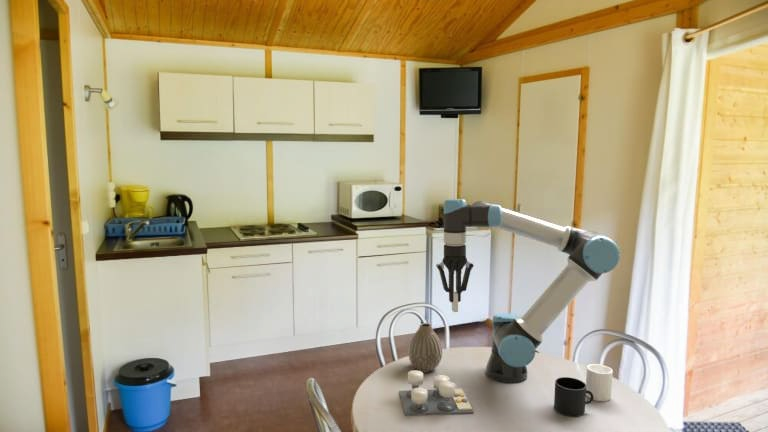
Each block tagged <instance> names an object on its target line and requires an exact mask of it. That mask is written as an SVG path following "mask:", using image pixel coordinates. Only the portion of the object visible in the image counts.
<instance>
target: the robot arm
mask: <svg viewBox="0 0 768 432" xmlns="http://www.w3.org/2000/svg"><path fill="white" fill-rule="evenodd" d="M467 227H468V228H470V227H473V228H475V227H476V228H480V227H481V228H483V227H484V228H496V229H500V230H503V231H506V232H509V233H512V234H515V235H518V236H521V237H524V238H527V239H530V240H534V241H536V242H540V243H543V244H545V245H546V244H547V245H549V246H553V247H555V248H557V250H558V251H559V252H562V253H564V254H567V255H569V256H568V257H567V258H566V259H567V265H566V266H565V267H564V269H562V271H561V272H560V273H559V274H558V275H557V277H556V278H555V279H554V280H553V281H552V282H551V283H550V285H549V286H547V288H546V289H545V290H544V292H543V293H541V295H540V296H539V297H538V299H537V300H536V301H535V302H534V303H533V304H532V305H531V307H530V308H529V309H527V311H526V312H525V313H524V315H521V314H516V313H497V314H496V313H495V314H494V315H493V317H492V321H491V324H492V327H491V328H492V331H491V332H492V333H491V354H490V356H489V359H488V361H487V362H486V363H487V364H486V366H485V370H486V371H485V372H486V373H485V374H486V375H487V376H488V377H489V378H490V379H492V380H495V381H498V382H502V383H508V384H509V383H511V384H514V383H521V382H523V381H525V380H527V378H528V368H527V366H528V365H529V364H531V363H532V361H534V358H535V356H536V349H537V348H538V347H539V346H540V345H541V344H542V342H543V334H544V333H545V331H546V330H548V329H549V327H550V326H551V325H552V324H553V323H554V322H555V321H556V319H557V318H558V317H559V316H560V315H561V314H562V312H564V310H565V309H566V308H567V307H568V306H569V305H570V303H571V302H572V301H573V300H574V299H575V298H576V297H577V296H578V294H580V292H581V291H582V290H583V289H584V288H585V287H586V285H588V283H589V282H597V281H598V279H599V278H600V277H601V276H602V275H603V274H606V273H610V272H612V271H613V270H614V269H615V268H616V267H617V266H618V265H619V261H620V257H621V256H620V255H621V254H620V253H621V252H620V249H619V247H618V245H617V244H616V242H615V241H613V240H612V239H611V238H609V237H608V236H605V235H603V234H601V233H598V232H596V231H592V230H587V229H583V228H578V227H577V228H576V227H573V226H570V225H566V226H561V225H557V224H554V223H550V222H548V221H545V220H541V219H538V218H535V217H533V216H532V217H531V216H530V215H526V214H522V213H519V212H517V211H513V210H510V209H506V208H503V207H502V206H501V205H500V204H493V203H492V204H491V203H487V202H486V201H484V200H477V201H474V202H473V203H471V204H467V200H465V199H464V198H448V199H446V200H445V201H444V202H443V243H444V245H443V258H442V260H441V262H440V263H437V264H436V265H435V266H436V268H437V270H438V272H439V275H440V279H441V284H442V289H443V290H444V291H445V292H446V293H448V300H449V302H450V303H451V311H452V312H453V313H459V303H460V302H461V301H462V296H461V295H462V293H463V292H465V291H467V287H468V283H469V279H470V276H471V271H472V269H473V267H474V264H473V262H469V261H468V259H467V245H466V242H467V233H466V232H467ZM464 267H465V268H464ZM445 268H446V269H447V271H448V281H447V277H446V274H445V270H444V269H445ZM463 269H464V273H463V277H462V270H463Z"/></svg>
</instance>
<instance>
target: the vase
mask: <svg viewBox="0 0 768 432" xmlns="http://www.w3.org/2000/svg"><path fill="white" fill-rule="evenodd" d="M407 352H408V353H407V354H408V359H409V362H410V365H412V367H413V368H415V369H416V370H417V371H421V372H423V373H431V372H433V371H434V370H435V369H436V368H438V367H439V366H440V363H441V361H442V358H443V346H442V342H441V340H440V338H439V336H438V334H436V332H435V331H434V330H433V327H432V324H430V323H420V324H419V327H418V329H417V330H416V331H415V333H413V335H412V337H411V339H410V341H409V344H408V349H407Z"/></svg>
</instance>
